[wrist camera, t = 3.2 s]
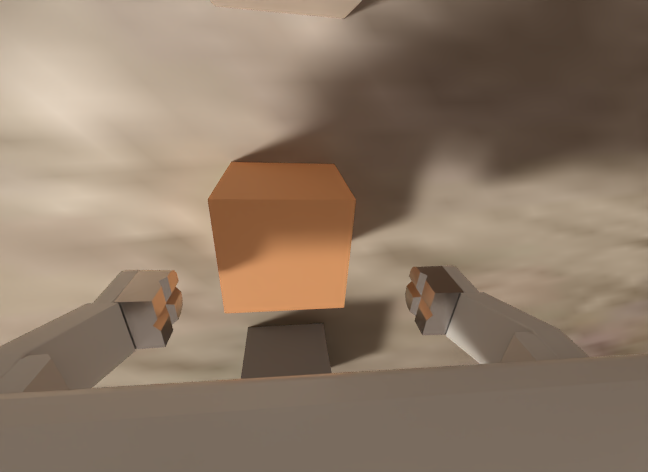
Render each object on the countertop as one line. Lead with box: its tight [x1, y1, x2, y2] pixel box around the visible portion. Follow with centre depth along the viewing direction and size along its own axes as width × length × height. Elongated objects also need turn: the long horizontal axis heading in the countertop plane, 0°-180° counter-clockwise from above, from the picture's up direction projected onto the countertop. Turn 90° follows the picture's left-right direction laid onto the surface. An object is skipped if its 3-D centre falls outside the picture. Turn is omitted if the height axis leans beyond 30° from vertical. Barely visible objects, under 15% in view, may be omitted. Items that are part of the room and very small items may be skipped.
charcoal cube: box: [241, 323, 331, 379], centre depth 18 cm, size 5×5×5 cm
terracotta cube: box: [208, 162, 356, 313], centre depth 13 cm, size 5×5×5 cm
